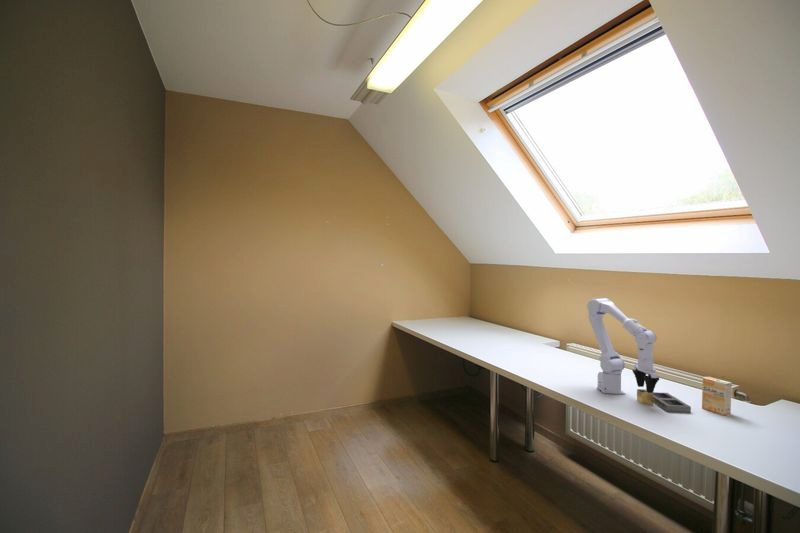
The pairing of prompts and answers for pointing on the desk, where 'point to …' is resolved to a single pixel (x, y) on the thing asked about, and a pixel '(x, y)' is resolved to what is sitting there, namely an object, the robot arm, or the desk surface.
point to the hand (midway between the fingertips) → (645, 389)
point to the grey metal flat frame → (670, 403)
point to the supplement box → (716, 395)
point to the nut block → (644, 396)
